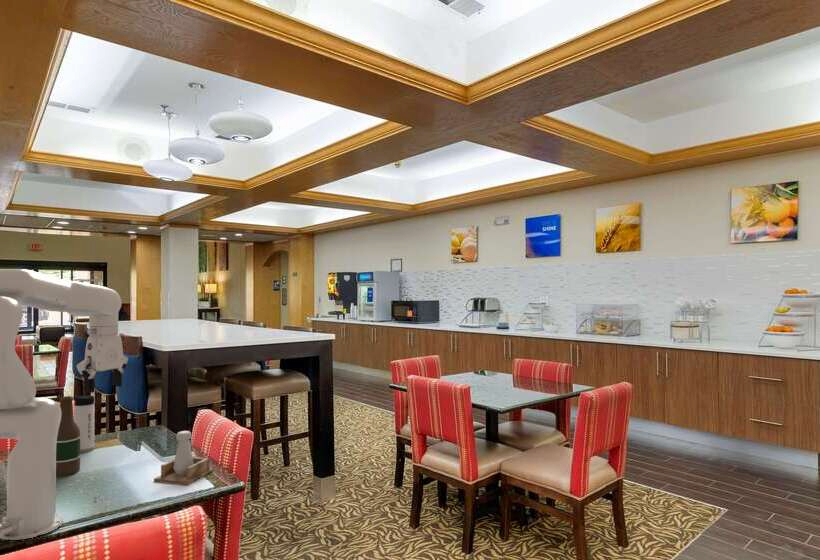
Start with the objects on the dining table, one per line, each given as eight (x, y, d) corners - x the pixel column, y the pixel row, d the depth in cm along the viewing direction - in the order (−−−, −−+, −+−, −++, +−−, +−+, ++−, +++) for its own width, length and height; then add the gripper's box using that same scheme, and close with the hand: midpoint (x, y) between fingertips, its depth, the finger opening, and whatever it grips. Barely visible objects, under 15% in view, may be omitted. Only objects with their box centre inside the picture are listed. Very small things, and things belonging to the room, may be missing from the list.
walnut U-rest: (187, 485, 152) (187, 470, 153) (153, 481, 156) (154, 467, 156) (213, 471, 164) (213, 457, 164) (181, 468, 167) (181, 454, 167)
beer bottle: (65, 477, 159) (66, 400, 160) (44, 476, 161) (45, 399, 161) (86, 469, 167) (86, 395, 167) (65, 467, 168) (66, 394, 169)
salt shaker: (169, 475, 159) (169, 432, 159) (185, 469, 164) (185, 428, 164) (181, 478, 156) (181, 435, 156) (197, 472, 161) (197, 430, 161)
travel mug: (74, 449, 188) (74, 394, 189) (95, 446, 191) (95, 392, 192) (71, 454, 183) (71, 397, 183) (92, 451, 185) (93, 395, 186)
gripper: (88, 334, 145) (88, 395, 145) (136, 330, 162) (136, 384, 161) (67, 334, 147) (67, 394, 147) (117, 329, 164) (116, 383, 163)
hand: (103, 389), depth 154 cm, fingers open, 9 cm apart
